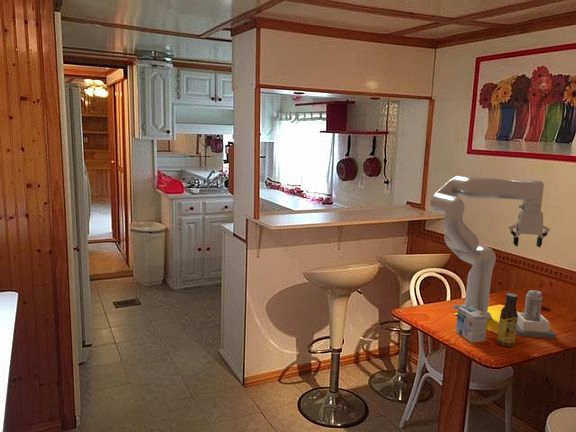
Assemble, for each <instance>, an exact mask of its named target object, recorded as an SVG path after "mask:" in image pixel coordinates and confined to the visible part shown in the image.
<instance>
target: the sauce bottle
mask: <svg viewBox="0 0 576 432" xmlns="http://www.w3.org/2000/svg"><path fill="white" fill-rule="evenodd" d="M518 298H519V297H518V294H516V293H511V292H509V293H506V295H505V303H504V306H503V307H502V308H501V310H500V316H499V320H498V328H497V336H496V338H497V339H496V340H497V341H496V342H497V344H498V345H500V346H503V347H513V346H514V344H515V341H516V335H517V333H516V328H517V321H518V315H517V312H518V311H517V301H518Z"/></svg>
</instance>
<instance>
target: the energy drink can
mask: <svg viewBox="0 0 576 432" xmlns="http://www.w3.org/2000/svg"><path fill="white" fill-rule="evenodd" d="M537 290H538V289H536V290H535V289H529V290H528V292H527V293H526V295H525V303H524V312H523V313H524V319H525V320H527V321H540V314H541V313H542V305H543V302H542V299H543V298H544V296H543V297H542V295H543V293H542V291H540V290H539V291H537ZM541 315H542V314H541Z"/></svg>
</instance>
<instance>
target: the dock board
mask: <svg viewBox="0 0 576 432" xmlns="http://www.w3.org/2000/svg"><path fill="white" fill-rule="evenodd" d="M517 315H518V321H517V328H516V335H518V336H519V337H530V338H531V337H532V338H545V339H556V338H557V337H556V336H557V334H556V333H555V332H554V331H553V330H552V329H551V328H550V326H551V322H550V321H549V320H548V319H546V318H545V317H544V315H543V314H540V321H527V320H525V319H524V312H518V311H517Z"/></svg>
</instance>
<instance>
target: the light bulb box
mask: <svg viewBox="0 0 576 432" xmlns="http://www.w3.org/2000/svg"><path fill="white" fill-rule="evenodd" d="M488 321H489V319H488V315H487V314H485V313H483V312H481V311H480V310H478V309H476V308H474V307H473V306H467V307H458V309H457V316H456V326H455V332H456V333H457V334H458V335H460V336H461V337H463V338H464V339H465V340H467V341H469V343H480V342H481V343H482V342H486V336H487V329H488V328H487V327H488Z"/></svg>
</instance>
